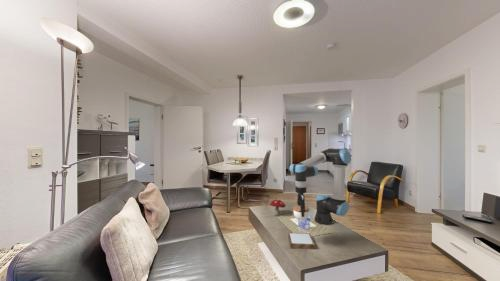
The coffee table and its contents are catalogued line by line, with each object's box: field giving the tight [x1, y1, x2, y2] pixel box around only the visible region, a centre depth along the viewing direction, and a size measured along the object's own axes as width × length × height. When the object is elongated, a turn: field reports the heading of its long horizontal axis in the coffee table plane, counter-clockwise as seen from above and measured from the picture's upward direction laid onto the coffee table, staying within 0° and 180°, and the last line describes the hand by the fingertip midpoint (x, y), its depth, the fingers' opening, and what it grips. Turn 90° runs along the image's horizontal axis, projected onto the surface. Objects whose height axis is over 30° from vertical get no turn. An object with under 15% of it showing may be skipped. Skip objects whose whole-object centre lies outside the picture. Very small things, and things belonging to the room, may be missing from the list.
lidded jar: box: [292, 205, 310, 221], centre depth 140 cm, size 11×11×9 cm
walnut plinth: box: [287, 232, 316, 250], centre depth 140 cm, size 16×16×3 cm
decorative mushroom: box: [268, 198, 286, 217], centre depth 191 cm, size 16×16×15 cm
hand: (301, 217), depth 140 cm, fingers closed on lidded jar, 11 cm apart
